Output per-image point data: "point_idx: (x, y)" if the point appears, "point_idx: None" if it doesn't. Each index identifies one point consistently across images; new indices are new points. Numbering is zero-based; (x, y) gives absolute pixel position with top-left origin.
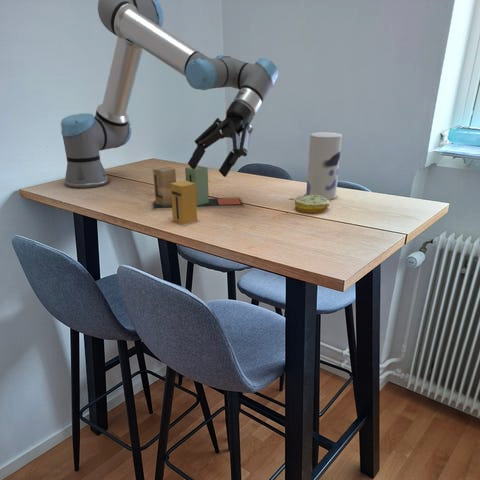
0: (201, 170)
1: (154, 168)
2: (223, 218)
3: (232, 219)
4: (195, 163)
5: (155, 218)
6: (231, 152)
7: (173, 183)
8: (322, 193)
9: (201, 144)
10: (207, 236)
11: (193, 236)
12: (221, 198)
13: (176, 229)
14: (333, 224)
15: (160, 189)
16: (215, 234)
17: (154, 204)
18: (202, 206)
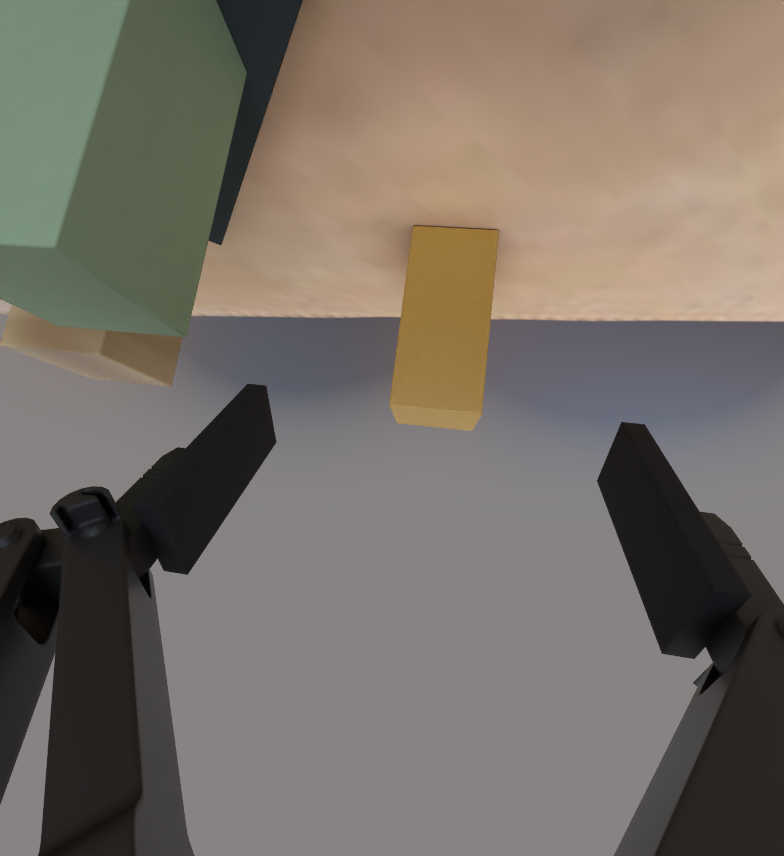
0: (139, 289)
1: (88, 376)
2: (609, 101)
3: (702, 67)
4: (251, 425)
5: (339, 280)
6: (685, 645)
7: (407, 422)
8: None
9: (149, 581)
10: (653, 295)
11: (597, 310)
12: None
13: (495, 302)
14: None
15: None
16: (680, 274)
17: None
18: (280, 47)
